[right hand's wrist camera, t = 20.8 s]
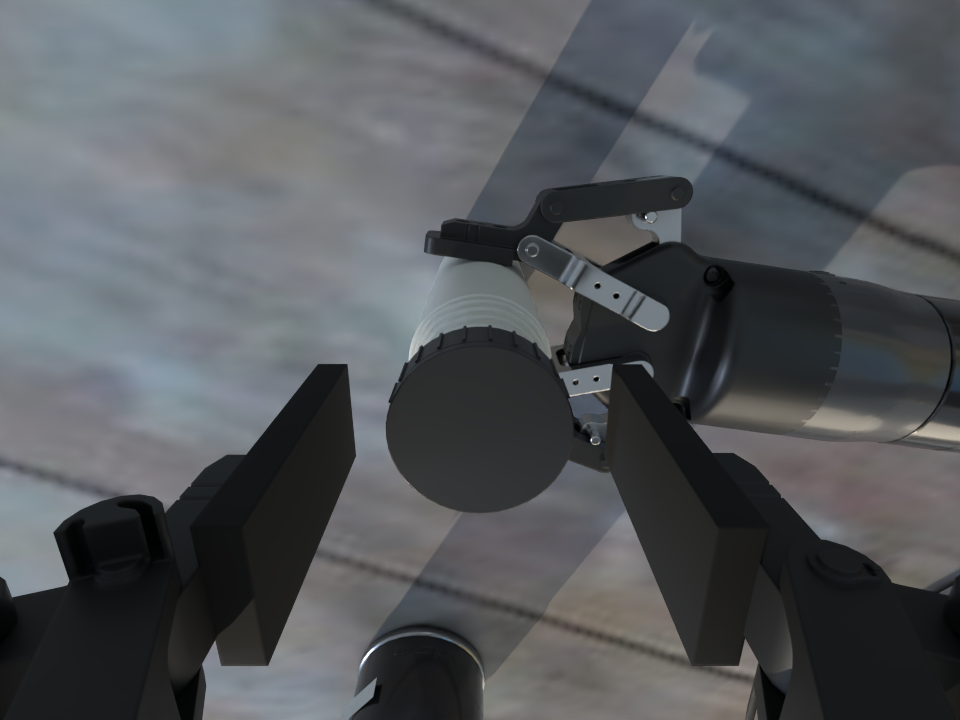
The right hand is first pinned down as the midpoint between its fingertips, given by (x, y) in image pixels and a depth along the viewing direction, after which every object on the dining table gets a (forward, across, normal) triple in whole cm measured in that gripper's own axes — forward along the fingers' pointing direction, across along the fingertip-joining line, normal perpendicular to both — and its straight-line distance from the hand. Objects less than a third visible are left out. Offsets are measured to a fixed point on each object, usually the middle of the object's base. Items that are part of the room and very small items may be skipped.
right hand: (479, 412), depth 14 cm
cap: (-1, 0, 0) cm, 1 cm away
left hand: (+10, -3, 0) cm, 11 cm away
